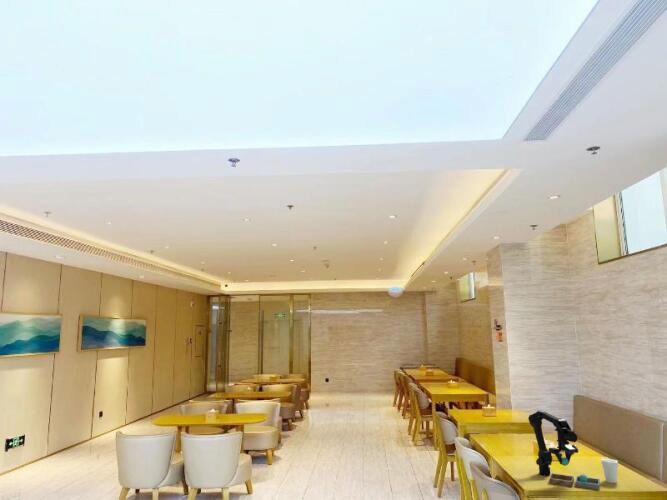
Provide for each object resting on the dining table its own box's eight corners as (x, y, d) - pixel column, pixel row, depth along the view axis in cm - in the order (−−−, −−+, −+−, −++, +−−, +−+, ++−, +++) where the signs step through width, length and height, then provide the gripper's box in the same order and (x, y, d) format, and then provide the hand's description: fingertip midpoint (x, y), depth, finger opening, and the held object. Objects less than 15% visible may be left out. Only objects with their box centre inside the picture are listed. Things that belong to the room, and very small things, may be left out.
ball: (579, 483, 301) (578, 474, 302) (579, 480, 306) (578, 472, 306) (587, 484, 299) (587, 476, 300) (588, 482, 303) (587, 474, 304)
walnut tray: (549, 483, 302) (549, 478, 303) (552, 478, 313) (551, 473, 314) (572, 487, 296) (572, 481, 296) (573, 481, 307) (573, 476, 307)
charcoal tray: (575, 486, 296) (575, 481, 297) (577, 480, 308) (576, 476, 308) (599, 490, 290) (599, 485, 290) (600, 484, 301) (599, 479, 302)
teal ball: (560, 465, 304) (559, 457, 305) (560, 464, 308) (560, 456, 309) (568, 467, 302) (567, 458, 302) (569, 465, 306) (568, 457, 307)
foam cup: (614, 479, 311) (612, 458, 314) (622, 483, 302) (620, 462, 304) (600, 479, 311) (598, 458, 313) (608, 483, 302) (606, 462, 304)
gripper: (558, 442, 298) (561, 468, 295) (583, 441, 302) (585, 466, 300) (547, 438, 309) (549, 463, 306) (571, 437, 313) (573, 461, 310)
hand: (564, 464), depth 305 cm, fingers closed on teal ball, 5 cm apart
